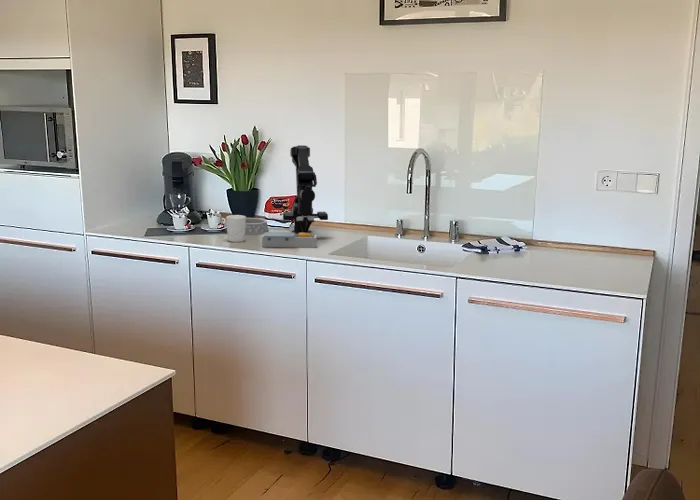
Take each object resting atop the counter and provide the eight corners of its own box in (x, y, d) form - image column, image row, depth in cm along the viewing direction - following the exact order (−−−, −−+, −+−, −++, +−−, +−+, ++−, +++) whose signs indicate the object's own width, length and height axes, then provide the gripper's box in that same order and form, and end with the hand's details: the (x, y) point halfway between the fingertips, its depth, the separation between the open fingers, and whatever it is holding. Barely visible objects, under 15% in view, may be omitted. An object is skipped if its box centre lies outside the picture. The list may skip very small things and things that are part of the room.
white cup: (247, 239, 303) (247, 215, 301) (243, 242, 295) (243, 218, 293) (229, 238, 303) (229, 214, 301) (224, 241, 296) (224, 217, 294)
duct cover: (265, 233, 294) (265, 232, 294) (295, 233, 294) (295, 232, 294) (263, 237, 285) (263, 235, 285) (294, 237, 285) (294, 236, 285)
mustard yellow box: (299, 240, 302) (299, 232, 302) (311, 241, 302) (311, 233, 301) (298, 242, 298) (298, 234, 298) (310, 243, 298) (310, 234, 297)
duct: (263, 243, 295) (263, 233, 294) (316, 243, 296) (316, 234, 295) (262, 247, 287) (262, 237, 286) (316, 247, 288) (316, 237, 287)
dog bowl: (258, 227, 331) (257, 216, 330) (274, 234, 316) (274, 222, 315) (222, 230, 323) (222, 218, 321) (238, 237, 307) (237, 225, 306)
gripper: (324, 196, 312) (324, 232, 316) (281, 197, 309) (281, 232, 312) (328, 200, 302) (327, 237, 305) (283, 200, 299) (283, 237, 302)
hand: (305, 236), depth 306 cm, fingers closed
